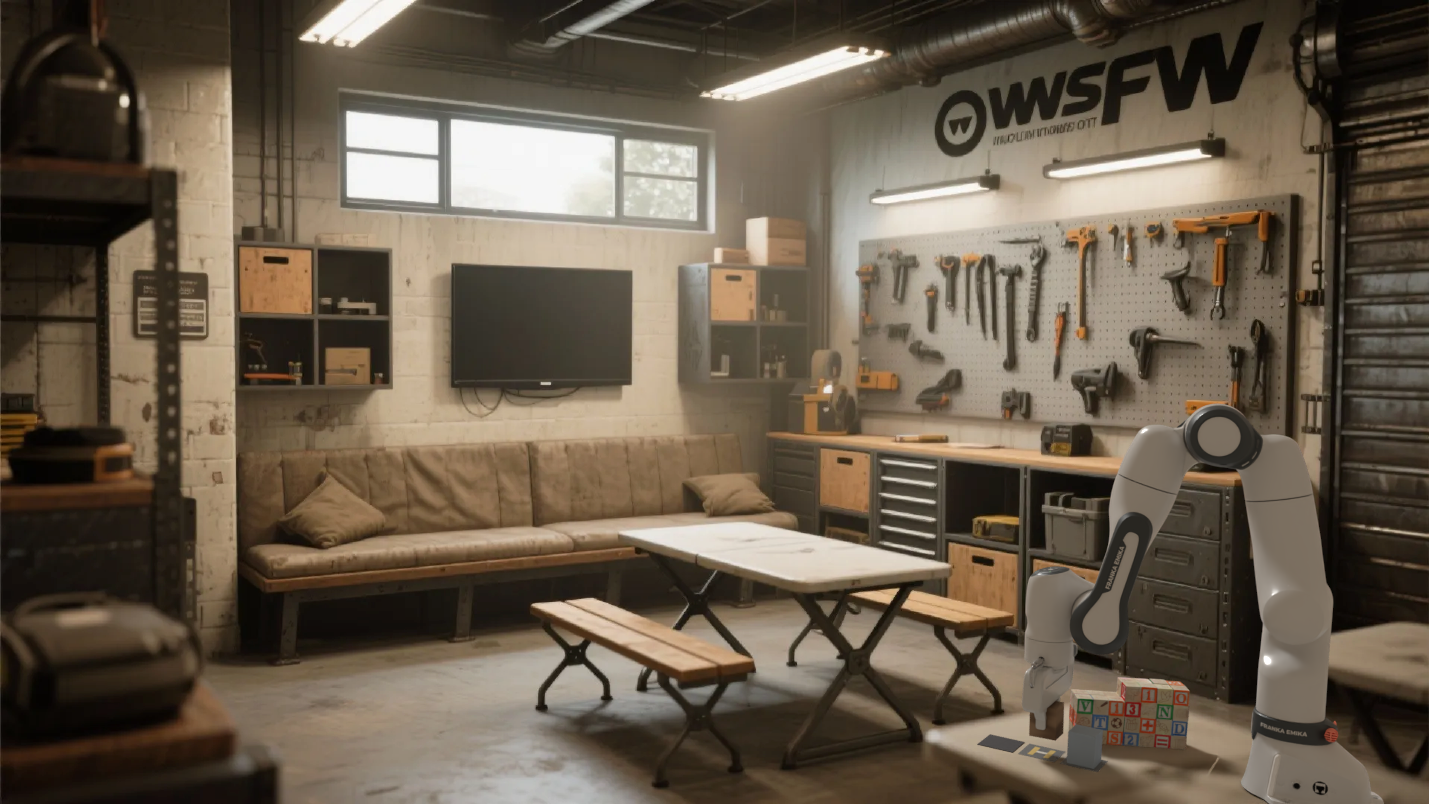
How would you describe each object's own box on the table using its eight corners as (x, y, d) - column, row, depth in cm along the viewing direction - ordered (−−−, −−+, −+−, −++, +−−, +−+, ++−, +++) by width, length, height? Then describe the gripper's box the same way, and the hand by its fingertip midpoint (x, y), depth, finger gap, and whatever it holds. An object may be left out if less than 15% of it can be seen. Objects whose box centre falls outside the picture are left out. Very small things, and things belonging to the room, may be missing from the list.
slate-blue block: (1101, 761, 221) (1102, 729, 220) (1093, 769, 216) (1095, 737, 216) (1074, 755, 223) (1076, 724, 223) (1066, 762, 219) (1068, 731, 219)
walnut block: (1063, 733, 224) (1064, 702, 224) (1055, 740, 220) (1056, 709, 220) (1037, 728, 227) (1038, 697, 227) (1029, 735, 223) (1029, 704, 222)
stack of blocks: (1074, 744, 231) (1077, 682, 230) (1067, 733, 237) (1070, 673, 236) (1186, 751, 229) (1190, 689, 228) (1177, 740, 235) (1180, 680, 234)
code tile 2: (1107, 762, 221) (1108, 760, 221) (1097, 773, 215) (1097, 772, 215) (1070, 754, 225) (1070, 752, 225) (1059, 765, 219) (1059, 763, 219)
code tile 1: (1065, 753, 225) (1065, 751, 225) (1054, 763, 219) (1054, 762, 219) (1029, 745, 229) (1029, 743, 229) (1017, 755, 223) (1017, 753, 223)
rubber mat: (1024, 743, 230) (1024, 741, 230) (1012, 754, 224) (1012, 752, 224) (989, 736, 233) (990, 734, 233) (977, 746, 228) (977, 744, 228)
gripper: (1048, 667, 212) (1046, 742, 213) (1080, 643, 229) (1078, 713, 230) (1014, 661, 216) (1012, 735, 216) (1048, 638, 233) (1046, 707, 234)
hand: (1046, 724), depth 223 cm, fingers closed on walnut block, 5 cm apart
